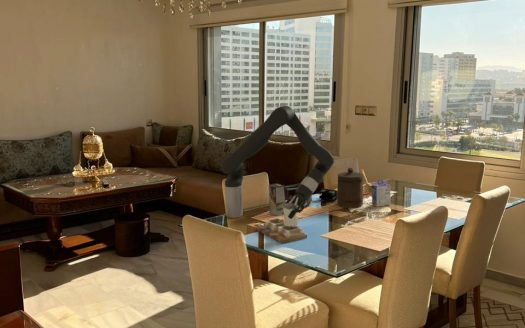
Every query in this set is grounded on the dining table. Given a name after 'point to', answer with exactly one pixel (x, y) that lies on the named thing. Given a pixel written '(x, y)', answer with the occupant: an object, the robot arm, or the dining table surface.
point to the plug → (287, 211)
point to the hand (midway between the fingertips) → (286, 216)
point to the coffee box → (277, 199)
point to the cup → (309, 201)
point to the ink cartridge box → (381, 194)
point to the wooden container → (350, 189)
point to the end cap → (328, 195)
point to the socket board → (281, 231)
